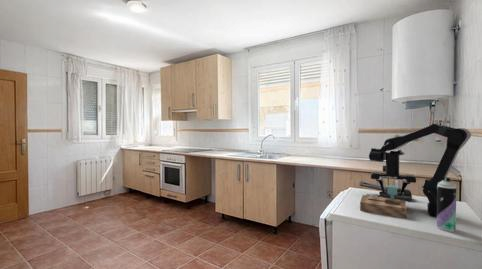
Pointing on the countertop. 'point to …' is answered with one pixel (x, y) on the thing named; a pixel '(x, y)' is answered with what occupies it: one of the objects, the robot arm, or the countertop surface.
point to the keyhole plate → (383, 206)
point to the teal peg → (392, 191)
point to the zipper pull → (404, 196)
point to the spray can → (446, 205)
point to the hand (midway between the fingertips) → (392, 193)
